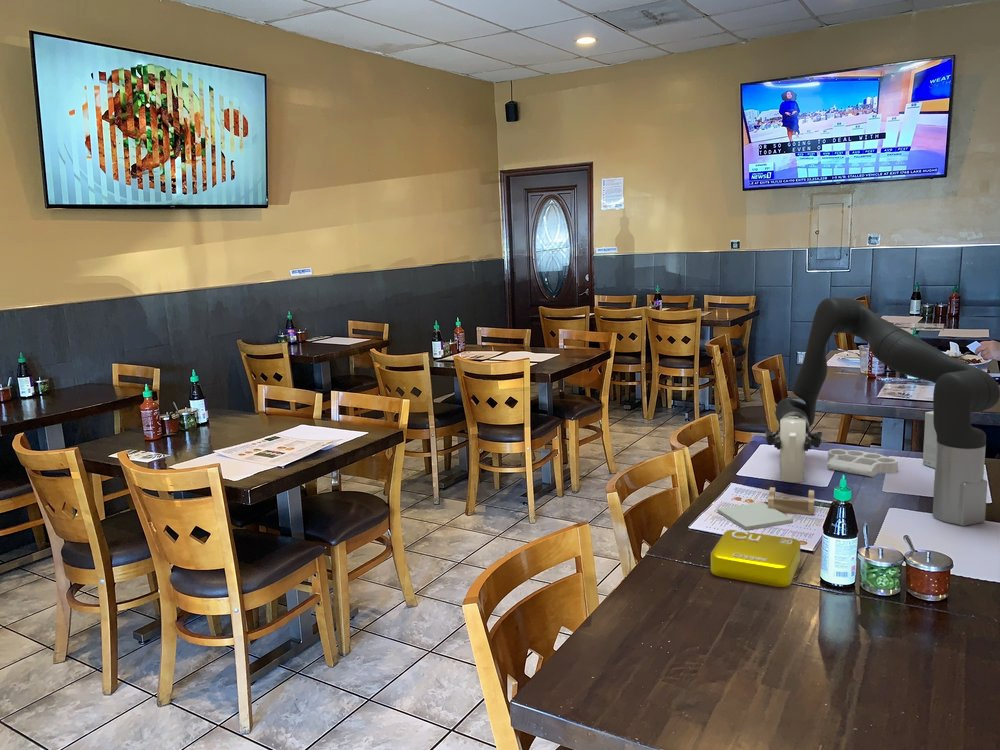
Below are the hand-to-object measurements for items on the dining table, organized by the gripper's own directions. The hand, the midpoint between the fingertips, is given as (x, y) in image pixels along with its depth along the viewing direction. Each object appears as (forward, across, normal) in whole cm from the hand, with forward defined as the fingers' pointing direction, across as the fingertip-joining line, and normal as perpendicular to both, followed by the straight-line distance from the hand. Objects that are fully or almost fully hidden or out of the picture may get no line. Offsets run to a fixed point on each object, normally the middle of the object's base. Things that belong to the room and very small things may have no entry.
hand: (792, 446), depth 184 cm
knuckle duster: (-28, +17, +14) cm, 35 cm away
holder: (+7, 0, +13) cm, 14 cm away
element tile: (+43, -6, +13) cm, 45 cm away
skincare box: (-34, +37, +13) cm, 52 cm away
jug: (-1, 0, +9) cm, 9 cm away
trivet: (+16, -8, +13) cm, 22 cm away
